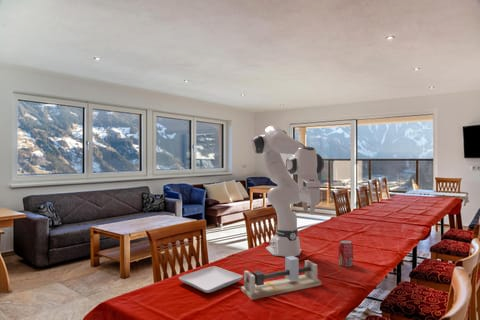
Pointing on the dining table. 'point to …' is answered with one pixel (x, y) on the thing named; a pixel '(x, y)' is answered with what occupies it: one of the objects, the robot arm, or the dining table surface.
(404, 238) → the dining table surface
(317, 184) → the robot arm
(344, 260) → the soda can
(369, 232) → the dining table surface
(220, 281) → the salad plate
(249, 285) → the linear slide rail
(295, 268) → the slide rail carriage
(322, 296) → the dining table surface
